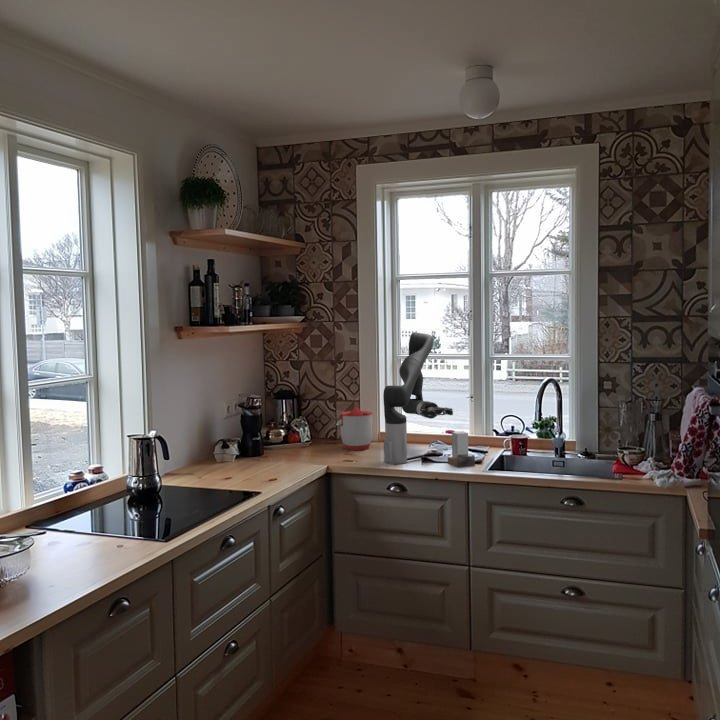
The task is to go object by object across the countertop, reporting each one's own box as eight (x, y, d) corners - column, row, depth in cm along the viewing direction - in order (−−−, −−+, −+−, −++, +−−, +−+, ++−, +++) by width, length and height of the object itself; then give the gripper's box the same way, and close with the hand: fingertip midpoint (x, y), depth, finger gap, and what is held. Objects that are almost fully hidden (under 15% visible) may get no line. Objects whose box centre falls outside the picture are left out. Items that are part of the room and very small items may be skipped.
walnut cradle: (457, 467, 299) (457, 457, 298) (447, 463, 307) (447, 453, 307) (474, 465, 301) (474, 456, 301) (464, 461, 310) (464, 452, 310)
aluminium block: (457, 459, 302) (457, 433, 301) (452, 457, 306) (451, 432, 306) (468, 458, 303) (468, 432, 303) (462, 456, 308) (462, 431, 307)
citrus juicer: (334, 446, 349) (333, 405, 347) (369, 444, 352) (368, 403, 351) (339, 452, 334) (338, 410, 332) (376, 450, 337) (375, 408, 335)
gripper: (413, 402, 330) (428, 405, 315) (441, 400, 335) (457, 404, 320) (413, 418, 331) (428, 422, 315) (441, 416, 335) (457, 421, 320)
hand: (443, 413), depth 318 cm, fingers open, 8 cm apart
